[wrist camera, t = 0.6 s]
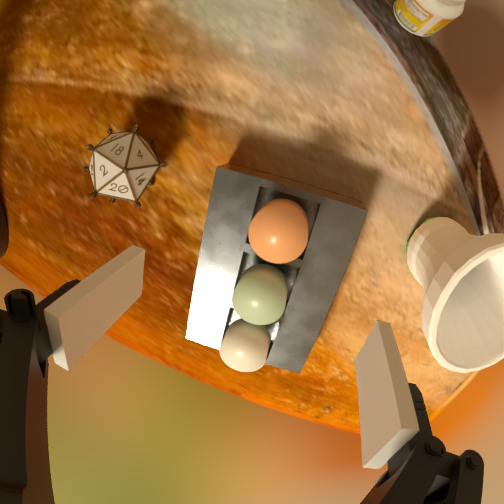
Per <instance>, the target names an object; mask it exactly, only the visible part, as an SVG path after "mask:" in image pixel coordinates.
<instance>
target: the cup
mask: <svg viewBox="0 0 504 504" xmlns="http://www.w3.org/2000/svg"><path fill="white" fill-rule="evenodd" d="M406 252H407V264H408V266H409V269H410V271H411V273H412V274H413V276H414V277H415V279H416V280H417V281H418V282H419V283H420V284H421V285H422V287H423V290H424V295H425V298H424V303H423V308H422V329H423V332H424V334H425V337H426V339H427V342H428V344H429V347H430V349H431V352H432V354H433V356H434V358H435V359H436V360H437V361H438V362H439V363H440V365H441V366H443V367H445V368H447V369H449V370H451V371H456V372H461V373H467V372H472V371H478V370H481V369H483V368H486V367H489V366H491V365H493V364H495V363H496V362H498V361H500V360H501V359H503V358H504V234H486V235H482V236H476V235H471V234H469V233H468V232H467V231H466V229H465V228H464V227H462V226H461V225H460V224H459V223H457V222H456V221H454V220H452V219H450V218H448V217H429V218H427V219H425V221H424V222H423V223H422V224H421V225H420V227H418V228H417V229H416V230H415V232H414V234H413V235H412V236H411V238H410V239H409V240H408V241H407V244H406Z"/></svg>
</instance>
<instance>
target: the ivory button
mask: <svg viewBox="0 0 504 504" xmlns="http://www.w3.org/2000/svg"><path fill="white" fill-rule="evenodd" d="M270 340H271V336H270V332H269V330H268V329H267V327H266V326H265V325H255V324H251V323H249V322H247V321H245V320H243V319H242V318H241V319H238V320H235V321H234V322H232V323H231V324H230V326H229V327H228V329H227V332H226V334H225V336H224V339H223V341H222V343H221V345H220V349H219V352H220V356H221V358H222V360H223V361H224V362H225V364H227V365H228V366H229V367H231V368H232V369H235V370H237V371H241V372H252V371H256V370H258V369H260V368H261V367H262V366H263V365H264V364H265V362H266V358H267V354H268V349H269V345H270Z"/></svg>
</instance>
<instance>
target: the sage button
mask: <svg viewBox="0 0 504 504" xmlns="http://www.w3.org/2000/svg"><path fill="white" fill-rule="evenodd" d="M287 294H288V282H287V279H286V277H285V275H284V274H283V273H282V272H281V271H280V270H279V269H278V268H276V267H274V266H272V265H268V264H256V265H253V266H251V267H249V268H248V269H246V270H245V271H244V273H243V274H242V276H241V278H240V280H239V282H238V284H237V286H236V288H235V290H234V292H233V295H232V304H233V307H234V310H235V311H236V313H237V314H238V315H239V316H240V317H241V318H242V319H243V320H245V321H247V322H249V323H251V324H255V325H267V324H271V323H273V322H275V321H277V320H278V319H279V318H280V317H281V316H282V314H283V312H284V310H285V305H286V300H287Z"/></svg>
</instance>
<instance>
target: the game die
mask: <svg viewBox="0 0 504 504" xmlns="http://www.w3.org/2000/svg"><path fill="white" fill-rule="evenodd" d="M138 128H139V127H138V124H136V125H135V126H133V131H129V132H120V133H112V129H110V128H108V131H107V132H108V133H109V136H107V137H106V138H105V139H104V140H103V141H101V142H100V143H99V144H98V145H97V146H95V147H93V145H91V144H90V145H87V147H88V149H90V150H92V155H91V160H90V165H89V167H84V168H83V170H84V171H85V172H86V171H88V170H89V172H90V176H91V180H92V184H93V187H94V191H95V192H94V193H92V194H90V199H94V197H96V195H97V194H98V195H102V196H106V197H111V200H110V201H111V203H113V202H115V199H121V200H127V201H132V202H135V205H136V207H137V208H138V209H140V206H141V205H140V202H138V200H139V198H140V197H141V195H142V193H143V192H144V190H145V189H146V187H147V185H148V184H149V185H150V186H151V185H154V183H153V181H151V179H152V178H153V176H154V174H155V173H156V171H157V170H158V168H159V167H160V166H162V167H165V166H167V165H168V164H167V163H166V162H162V163H160V162H159V161H158V159H157V157H156V155H155V154H154V152H153V150H152V148H151V146H150V145H149V144H151V143H152V142H153V139H149V140H148V141H146V140H145V139H143V138H142V137H141V136H140V135H139V134H138V133H137V132H136V131H137V130H138Z"/></svg>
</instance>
